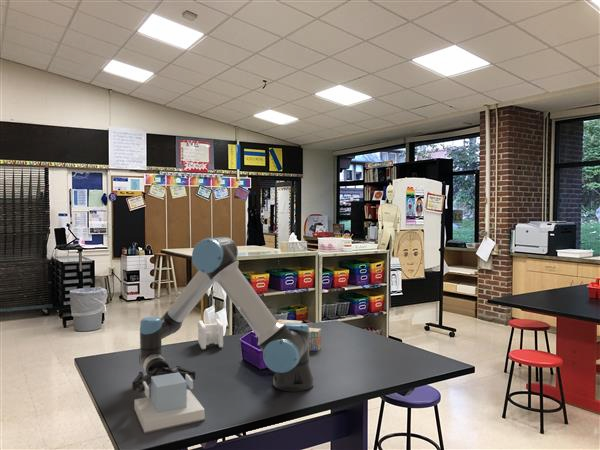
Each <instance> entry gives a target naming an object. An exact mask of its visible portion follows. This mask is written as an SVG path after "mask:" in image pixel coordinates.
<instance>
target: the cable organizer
mask: <svg viewBox="0 0 600 450" xmlns="http://www.w3.org/2000/svg"><path fill="white" fill-rule="evenodd" d="M197 341H198V344H199V347H200V348H201V350H206V349H207V346H210V344H214V345H217V346H218V347H219V348H222V347H224V326H223V323H222V321H221V320H220V318H216V319H215V320H214V323H208V324H207V323H206V324H205V323H204V321H203V320H198V322H197Z"/></svg>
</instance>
